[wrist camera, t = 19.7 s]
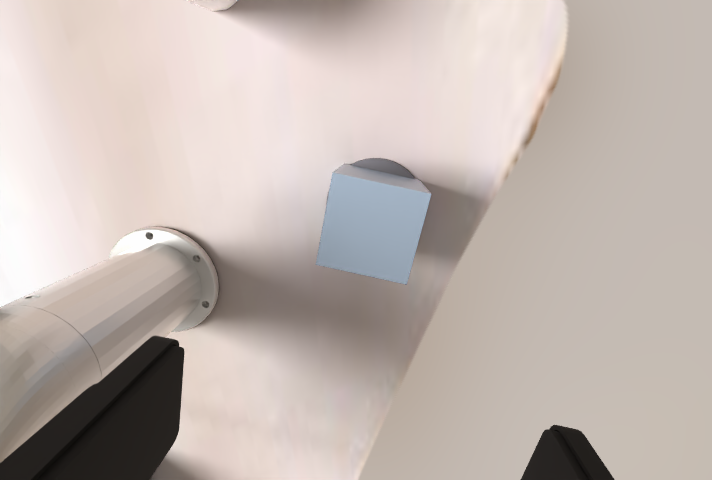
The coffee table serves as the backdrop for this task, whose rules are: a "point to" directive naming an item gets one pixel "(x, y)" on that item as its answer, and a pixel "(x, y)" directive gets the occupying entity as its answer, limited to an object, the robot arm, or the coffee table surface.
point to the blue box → (372, 223)
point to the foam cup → (213, 4)
